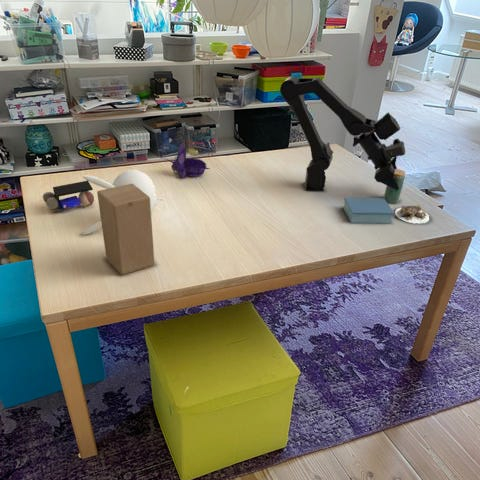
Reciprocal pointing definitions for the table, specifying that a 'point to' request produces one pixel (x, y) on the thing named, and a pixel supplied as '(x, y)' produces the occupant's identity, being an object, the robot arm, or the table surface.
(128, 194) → the wooden block
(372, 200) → the slate blue base plate
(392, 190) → the canister
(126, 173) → the stuffed toy
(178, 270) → the table surface
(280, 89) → the robot arm
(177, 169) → the creature
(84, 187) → the toy car
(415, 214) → the frog figurine
